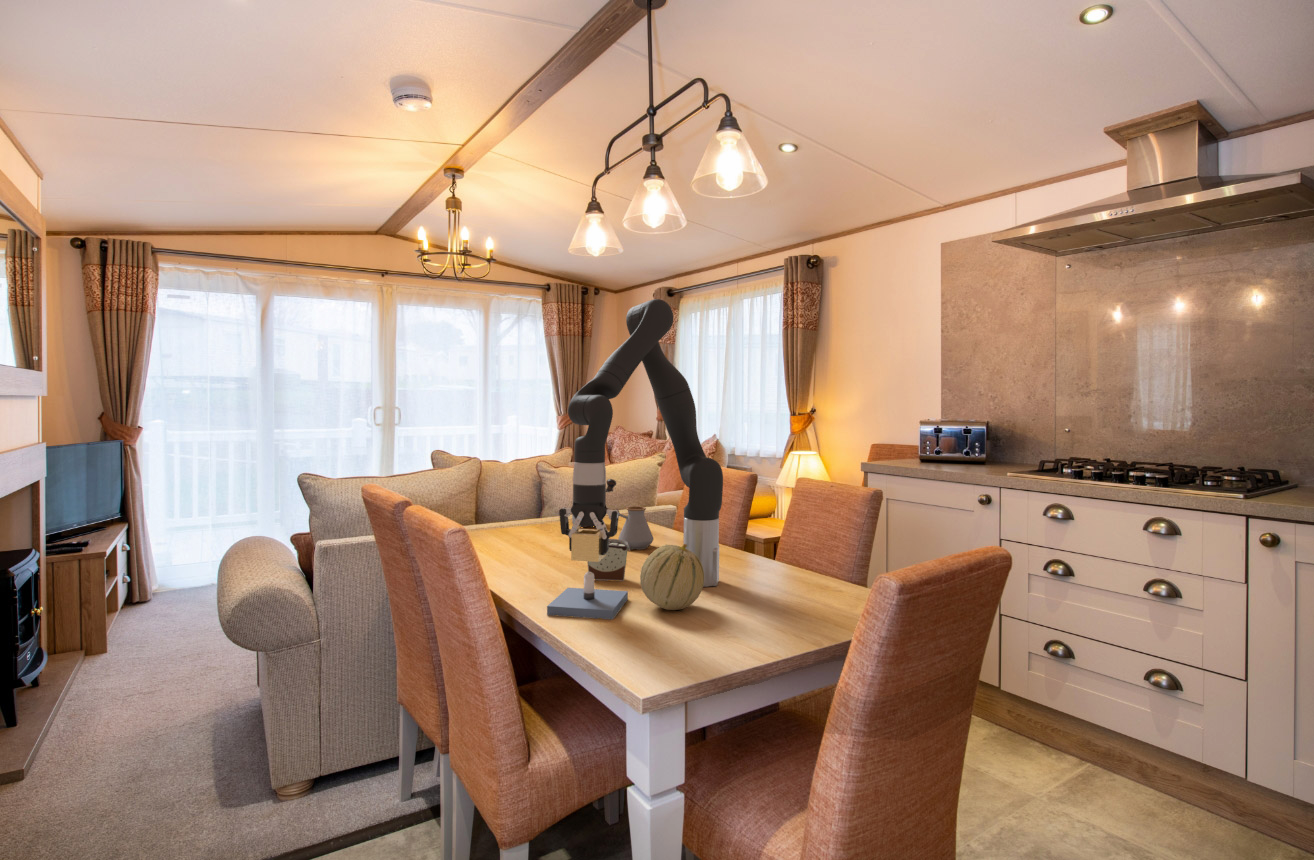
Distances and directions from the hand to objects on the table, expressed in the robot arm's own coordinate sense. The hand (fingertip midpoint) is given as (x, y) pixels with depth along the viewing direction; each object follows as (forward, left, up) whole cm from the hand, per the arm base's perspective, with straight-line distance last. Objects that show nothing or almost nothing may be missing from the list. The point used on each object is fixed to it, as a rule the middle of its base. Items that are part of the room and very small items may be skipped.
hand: (588, 553), depth 154 cm
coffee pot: (+7, -62, -13) cm, 64 cm away
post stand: (0, 0, -12) cm, 12 cm away
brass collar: (0, 0, -1) cm, 1 cm away
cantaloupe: (-19, -3, -13) cm, 23 cm away
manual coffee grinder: (+26, -98, -13) cm, 102 cm away
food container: (+2, -26, -13) cm, 29 cm away
